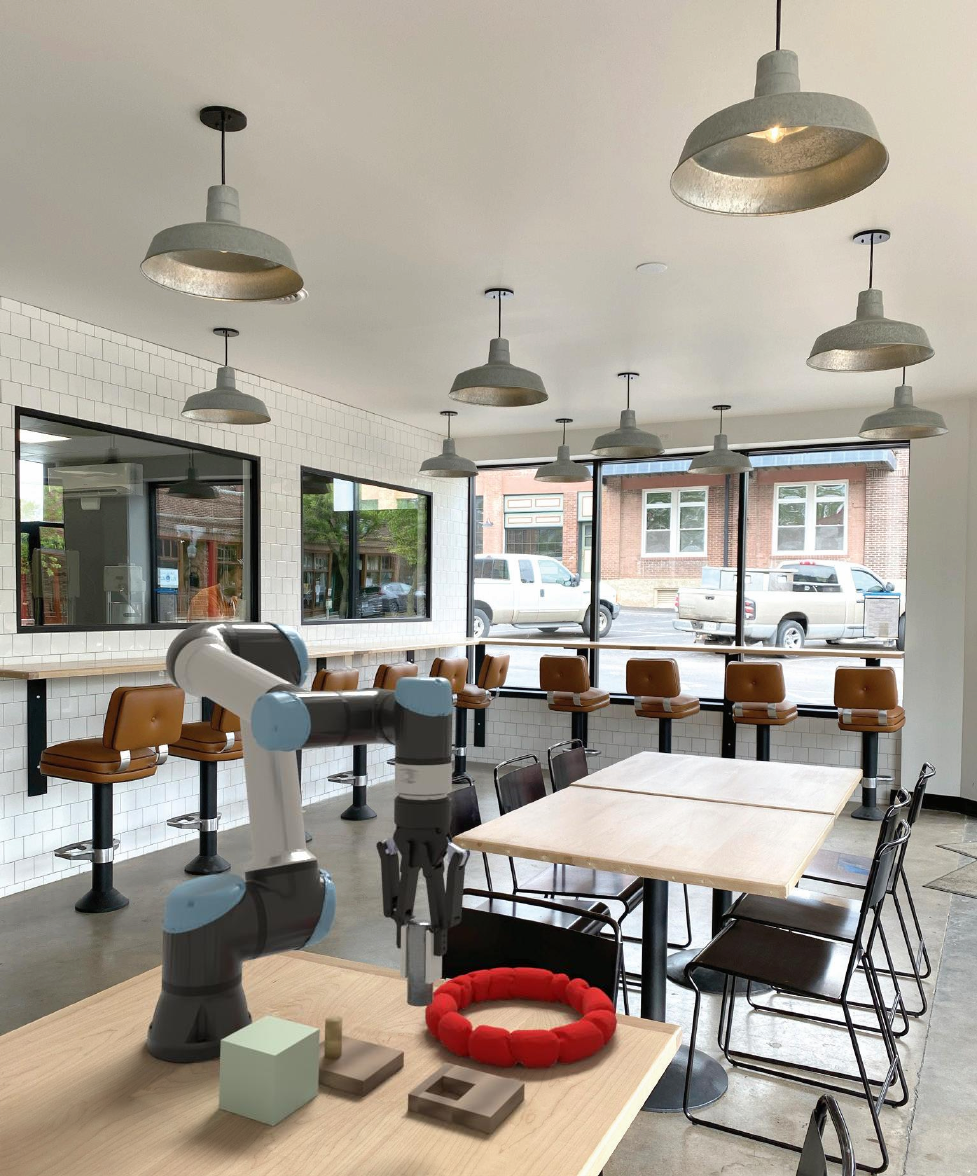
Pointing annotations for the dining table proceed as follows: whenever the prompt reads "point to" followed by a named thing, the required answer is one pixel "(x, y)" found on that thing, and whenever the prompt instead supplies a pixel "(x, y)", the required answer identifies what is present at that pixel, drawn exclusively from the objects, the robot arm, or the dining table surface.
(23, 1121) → the dining table surface
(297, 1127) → the dining table surface
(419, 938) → the peg
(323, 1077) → the board
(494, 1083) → the square hole block
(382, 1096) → the dining table surface
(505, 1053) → the decorative ring
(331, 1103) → the dining table surface
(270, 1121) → the pale green cube
